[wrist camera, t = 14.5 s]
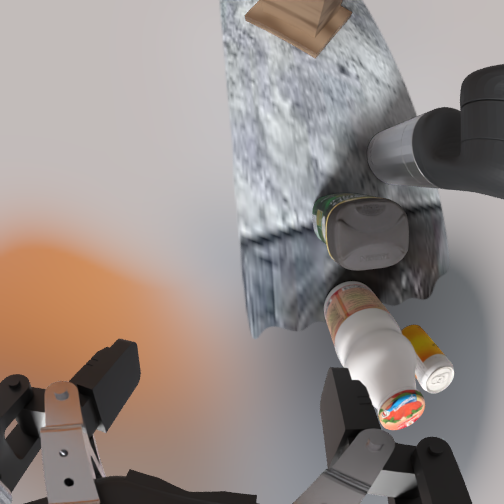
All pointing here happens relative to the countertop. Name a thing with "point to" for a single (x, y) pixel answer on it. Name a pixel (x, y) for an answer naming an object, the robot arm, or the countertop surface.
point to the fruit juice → (375, 352)
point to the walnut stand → (300, 21)
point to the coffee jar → (361, 230)
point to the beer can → (429, 361)
